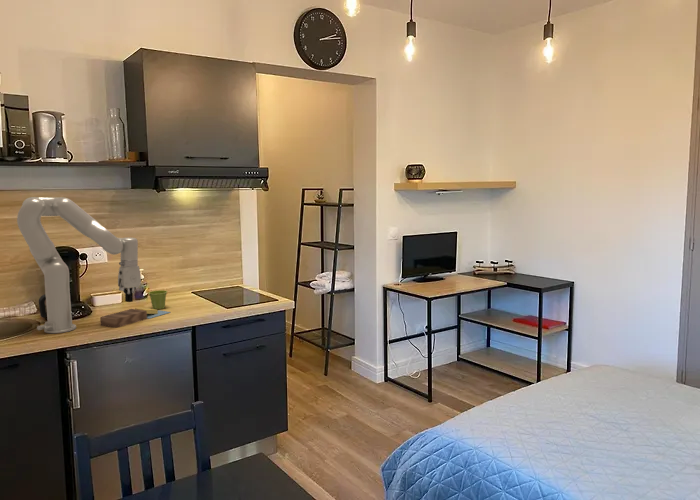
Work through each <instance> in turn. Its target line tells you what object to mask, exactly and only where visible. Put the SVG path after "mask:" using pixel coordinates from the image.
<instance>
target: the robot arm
mask: <svg viewBox="0 0 700 500" xmlns="http://www.w3.org/2000/svg"><path fill="white" fill-rule="evenodd" d="M42 217H60V218H61V219H62V220H64V221H66V222H67V223H68V224H69V225H70V226H71V227H73V228H74V229H75V230H76V231H78V232H79V233H80V234H82V235H84V236H85V237H86V238H89V240H92V241H93V242H94V243H96V244H97V245H98V246H100V247H101V248H102V249H103V251H104V252H106V253H108V254H110V255H112V256H113V255H119V254H120V261H119V263H118V264H119V269H118V272H117V273H118V275H117V277H118V278H117V287H118V290H119V291H121V292H123V294H124V296H125V297H124V298H125V301H124V302H126V303H131V302H133V301H134V300H133V299H134V298H133V297H134V294H135V290H137V289H139V287H140V286H141V284H142V279H141V278H142V277H141V270H140V269H141V268H140V266H139V265H138V262H139V259H138V258H139V256H138V253H139V252H138V247H139V246H138V244H139V243H138V242H139V241H138V239H137V238H136V237H117V236H116V235H115V234H113V233H112V232H111V231H110V230H109V229H107V228H106V227H104V226H103V225H102V223H100V222H98V220H97V219H95V218H94V217H93V216H91V215H90V214H89V213H88V212H86V210H84V209H83V208H82V207H80V206H79V205H78V204H77V203H76V202H74V201H73V200H72V199H70V198H68V197H65V196H64V197H61V196H60V197H46V196H45V197H43V196H42V197H41V196H39V197H38V196H32V197H27V198H25V199H24V200H23V202H22V203H21V207H20V208H19V210H18V212H17V217H16V223H17V224H16V225H17V227H18V229H19V232H20V234H21V236H22V237H23V239H24V241H25V243H26V245H28V247H29V248H28V249H29V252H30V253H31V255H32V257H33V259H34V260H35V262H36V264H37V266H38V268H39V269H40V270H41V272H42V274H43V275H44V276H43V277H44V293H45V295H46V300H45V303H46V304H45V307H46V317H47V318H46V319H47V321H45V323H43V324H41V325H40V324H39V325H37V327H36V330H37V331H41V330H44V333H47V334H62V333H67V332H71V331H74V330H76V329H77V325H76V324H75V323H73V317H72V305H71V304H72V303H71V302H72V301H71V293H70V292H71V291H70V290H71V288H70V270H69V266H68V265H67V264H66V262H64V260H63V259H62V256H60V253H59V252H58V251H57V249H56V245H55V243H54V242H53V241H52V240H51V239H50V237H49V235H48V233H47V232H46V230H45V228H44V226H43V224H42V221H41V218H42Z"/></svg>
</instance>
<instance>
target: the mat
mask: <svg viewBox="0 0 700 500" xmlns="http://www.w3.org/2000/svg"><path fill="white" fill-rule="evenodd" d="M157 310H158V314H147V319H146V320H151V319H153V318H157V317H160V316H163V315H167V314H171V311H165V310H161V309H157Z"/></svg>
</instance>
